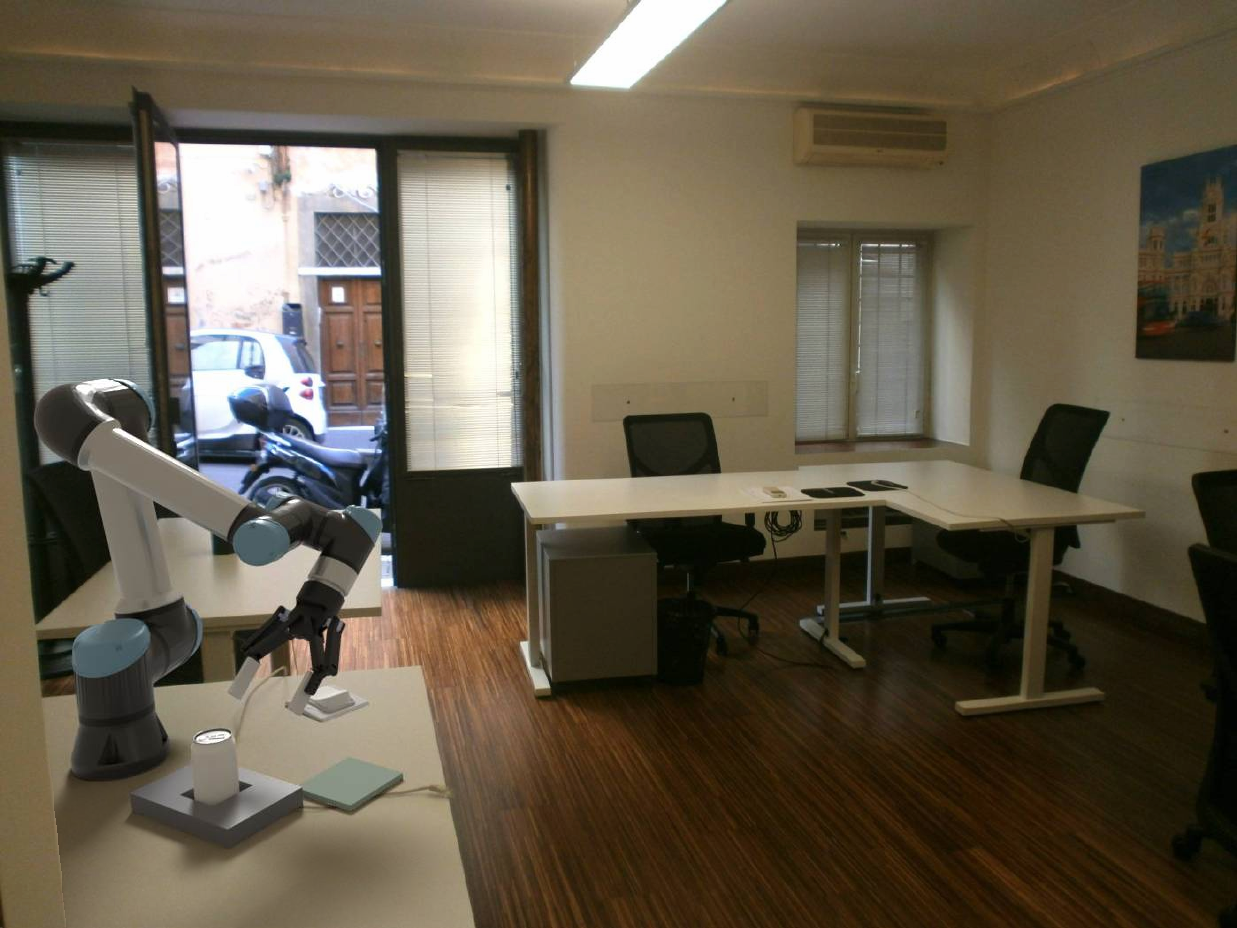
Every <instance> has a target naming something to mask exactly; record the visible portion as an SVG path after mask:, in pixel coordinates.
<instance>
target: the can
mask: <svg viewBox="0 0 1237 928" xmlns="http://www.w3.org/2000/svg"><path fill="white" fill-rule="evenodd" d="M192 741H193V742H192V744H191V747H190V760H191V761H190V764H192V776H193V788H194V800H195V801H198V802H201V803H203V804H206V805H209V806H212V807H213V806H215V805H217V804H219V803H221V802H223V801H224V800H226V799H228V798H230V797H232V796H234V795H236V794H238V793H239V779H238V766H239V765H238V755H237V754H238V753H237V743H236V740H235V738H234V735H233V732H232V730H231V729H229V728H225V727H213V728H208V729H204V730H201V731H199V732H197V733H196V734H195V735H194V736H193V737H192Z"/></svg>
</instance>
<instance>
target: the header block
mask: <svg viewBox="0 0 1237 928" xmlns="http://www.w3.org/2000/svg"><path fill="white" fill-rule="evenodd" d="M238 779H239V793H238V794H236V795H234V796H232V797H230V798H228V799H226V800H224V801H223V802H221V803H219V804H217V805H215V806H213V807H212V806H209V805H206V804H203V803H201V802H198V801H195V800H194V788H193V776H192V764H191V763H190V764H187V765H186V766H185V765H184V766H183V767H181V768H180V769H177V770H175V771H173V772H171V773H169V774H167V775H165V776H163V777H161V778H158V779H157V780H154V781H152V782H150V783H148V784H146V785H144V786H142V787H140V788H138V789H137V788H136V790H133V791H131V792H129V796H130V797H129V798H130V807H131V812H133V811H135V812H137V813H136V814H138V813H139V815H141V814H142V815H141V816H144V817H147V818H148V819H151V820H154V821H156V822H159V823H162V824H164V825H168V826H170V827H172V828H173V829H177V830H179V831H183V832H184V833H187V834H190V835H193V836H195V837H198V838H200V839H203V840H206V841H208V842H210V843H213V844H216V845H219V846H221V847H223V848H227V849H231V848H233V847H235V846H236V845H238V844H240V843H241V842H243V841H245V840H246V839H249V838H250V837H251V836H253V835H255V834H256V833H259V832H260V831H262V830H264V829H265V828H267V827H268V826H270V825H272V824H274V823H276V822H277V821H278V820H280V819H282V818H283V817H286V816H287V815H289V814H291V813H292V812H294V811H295V810H297V809H298V808H300V806H301V807H302V806H304V796H303V790H302V787H301V786H298V785H299V784H298V785H297V784H294V783H291V782H289V781H286V780H285V781H284V780H282V779H279V778H275V777H273V776H270V775H266V774H263V773H260V772H258V771H254V770H251V769H249V768H245V767H242V766H239V765H238ZM135 812H134V813H135Z"/></svg>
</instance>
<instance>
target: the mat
mask: <svg viewBox="0 0 1237 928" xmlns="http://www.w3.org/2000/svg"><path fill="white" fill-rule="evenodd" d="M400 779H401V780H403V779H404V773H403V772H401V771H398V770H395V769H392V768H388V767H385V766H381V765H378V764H374V763H370V762H368V761H364V760H361V759H358V758H355V757H354V758H353V757H351V756H348V757H346V758H344V759H343V760H341V761H339V762H337V763H335V764H333V765H331V766H330V767H328V768H326V769H324V770H323V771H321V772H319V773H317V774H315V775H314V776H312V777H310V778H308V779H307V780H305V781H303V782H301V783H300V784H298V786H301V787H302V790H303V795H304V796H303V797H305V796H306V798H308V797H309V799H311V798H312V799H311V800H314V801H318V802H320V803H323V802H325V803H324V804H326V803H329V804H332V805H335V806H338V807H339V809H342V810H345V811H347V810H348V812H351V813H352V810H353V811H354V810H356V809H357V808H359V807H361V806H362V805H364V804H365V803H367V802H368V801H370V800H371V799H372V798H371V797H372V796H373V795H375V794H377V793H379V792H381V793H383V792H384V791H386V790H387V789H389V788H390V787H392V786H393V784H394V783H395V784H396V782H397V781H398V782H400V781H401V780H400ZM399 780H400V781H399ZM398 782H397V783H398ZM395 784H394V785H395ZM388 787H389V788H388ZM386 788H387V789H386ZM385 789H386V790H385ZM383 790H384V791H383ZM382 791H383V792H382ZM379 794H380V793H379ZM370 798H371V799H370ZM369 799H370V800H369ZM367 800H368V801H367ZM366 801H367V802H366ZM364 802H365V803H364ZM363 803H364V804H363ZM329 804H328V805H329ZM332 805H331V806H332ZM335 806H334V807H335ZM338 807H337V808H338Z"/></svg>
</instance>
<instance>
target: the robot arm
mask: <svg viewBox="0 0 1237 928" xmlns="http://www.w3.org/2000/svg"><path fill="white" fill-rule="evenodd" d="M33 413H34V414H33V423H34V429H35V431H36V434H37V436H38V438H39V439H40V440H41V442H42V444H43V445H44V446H45V447H46V448H47V449H49V451H51V452H52V453H54V454H55V455H56V456H58V457H59V458H61V459H63V460H64V461H66V462H68V464H71V465H73V466H75V467H77V468H79V469H80V470H83V471H84V472H85V471H90V473H91V478H92V481H93V485H94V490H95V494H96V498H97V502H98V508H99V513H100V516H101V519H102V524H103V529H104V533H105V536H106V542H107V545H108V550H109V555H110V558H111V563H112V567H113V571H114V576H115V580H116V585H117V589H118V593H119V596H120V597H119V598H120V599H119V601H118V602H117V603H116V605H115V607H114V608H113V613H114V617H115V619H111V620H107V621H105V622H104V623H96V624H94V625H92V626H89V627H88V628H86V629H85V630H83V631H82V632H80V633H79V634H78V635H77V636H76V638H75V639H74V641H73V644H72V650H71V651H72V652H71V653H72V656H71V657H72V658H71V667H72V669H73V676H74V685H75V686H74V687H75V688H74V689H75V696H76V706H77V707H76V708H77V713H78V728H77V731H76V736H75V740H74V743H73V748H72V752H71V756H70V767H71V768H70V769H71V772H72V774H73V775H74V776H75V777H77V778H79V779H82V780H85V781H98V780H99V781H113V780H118V779H125V778H127V777H128V778H129V777H132V776H135V775H139V774H141V773H144V772H147V771H149V770H152V769H153V768H155V767H157V766H159V765H160V764H162V763H164V762H165V760H167V759H168V757H169V756H170V753H171V743H170V737H169V734H167V731H166V729H165V726H164V725H163V723H162V721H161V718H160V717H159V715H158V712H157V710H156V702H155V689H154V687H155V686H154V685H155V683H156V682H158V681H159V680H160V679H162V678H163V677H164V676H166V675H168V674H169V673H171V672H172V671H173V670H175V669H177V668H179V667H181V666H182V665H183V664H184V663H185V662H187V661H188V660H189V659H190V657H191V656H193V655H194V653H196V651H197V649H198V648H199V646H200V644H201V642H202V638H203V623H202V619H201V617H200V615H199V614H198V612H197V610H196V609H195V608H192V607H191V605H190V604H189V603H187V602H185V597H184V594H183V592H182V591H181V590H179V589H176V588H175V587H173V585H172V582H171V578H170V577H171V576H170V573H169V567H168V563H167V559H166V554H165V550H164V545H163V541H162V536H161V532H160V527H159V522H158V517H157V514H156V510H155V509H156V508H155V505H154V502H155V503H156V504H158V505H161V506H162V507H163V508H165V509H168V510H169V511H171V512H173V513H175V514H177V515H178V516H180V517H183V518H185V519H186V520H187V521H189V522H190V523H194V524H195V525H197V526H198V527H200V528H202V529H204V530H206V531H207V532H209V533H212V534H214V535H215V536H216V537H219V538H220V539H223V540H224V541H226V542H228V543H230V544H231V545H232V547H233V551H234V553H235V554H236V556H237V557H238V558H239V560H241V562H242V563H244V564H247V566H252V567H264V566H267V565H269V564H272V563H275V562H277V561H279V560H280V559H282V558H283V557H284V556H285V555H286V554H288V553H290V552H291V551H293V550H295V549H296V548H298V547H300V546H304V547H306V548H310V549H312V550H315V551H317V552H320V554H319V556H318V557H317V560H315V562H314V565H312V568H311V569H310V571H309V573H308V574H307V577H306V578H307V579H308V580H306V581H304V582H303V584H302V585H301V588H300V590H299V591H298V593H297V595H296V597H295V603H296V605H295V606H294V608H293V609H291V610H290V609H288V608H287V607H285V606H284V605H279V606H277V609H276V610H275V611H274V612H273V614H272V615H271V616H270V617H269V619H267V620H266V622H264V623H263V624H262V625H261V626H260V627H259V628H258V629H257V630H255V632H253V634H252V635H250V636H249V637H248V638H247V639H246V640H245V641H244V642H243V643H242V644H241V645H240V647H239V651H240V652H241V653H242V654H244V658H243V660H242V662H241V663H240V666H239V667H238V669H237V670H236V674H235V675H236V676H235V678H234V680H233V681H232V684H231V685H230V687H229V688H228V691H227V694H229V695H230V696H232V697H233V698H234V699H237V700H239V701H241V700H242V699H243V697H244V695H245V693H246V691H247V690H248V688H249V686H250V684H251V682H252V680H254V677H255V676H256V674H257V672H258V670H259V668H260V666H261V665H262V664H261V661H260V660H261V659H263V658H265V657H266V656H267V655H269V654H270V653H272V652H274V651H275V650H276V649H278V648H279V647H280V646H282V645H284V644H285V643H286V642H288V641H293V640H295V639H296V640H299V641H300V640H304V641H306V642H308V646H309V652H310V653H309V654H310V660H311V667H310V668H309V669H310V670H306V672H305V674H304V676H303V678H302V680H301V682H300V684H299V686H298V687H297V689H296V691H295V693H294V695H293V697H292V698H291V699H292V700H291V702H290V704H289V706H287V708H286V709H288V710H289V711H290V712H292V713H293V714H294V715H296V716H300V717H301V716H302V715H303V714H302V713H303V711H304V709H305V707H306V705H307V703H308V701H309V699H310V697H311V695H312V696H313V695H314V694H315V693H316V691H317V689H318V688H320V685H321V683H322V682H323V680H324V679H326V678H327V677H330V676H331V677H336V676H337V675H338V673H339V663H340V655H341V642H342V636H343V633H344V630H345V627H346V622H344V620H342V619H341V618H339V617H338V615H339V614H340V611H341V610H342V607H343V606H344V604H345V602H346V601H345V598H346V597H348V596H349V594H350V592H351V590H352V588H353V586H354V584H355V583H356V581H357V579H358V577H359V576H360V572H362V569H363V567H364V566H365V564H366V562H367V560H368V559H369V556H370V555H371V553H372V551H373V549H374V548H375V547H376V543H377V541H378V539H379V537H380V534H381V532H382V530H383V527H384V526H383V525H384V524H383V521H382V519H381V518H380V517H379V516H378V514H376V513H375V512H373V511H372V510H370V509H368V508H366V507H364V506H358V505H355V504H352V505H348V506H347V507H345V509H344V510H342V512H338V511H334V510H331V509H330V508H327V507H324V506H322V505H320V504H318V503H315V502H312V501H310V500H307V499H305V498H304V497H302V496H300V495H297V494H292V493H289V492H285V491H277V492H275V493H274V494H273V495H272V497H271V498H269V499H268V501H267V502H266V505H265V507H263V506H260V505H259V504H257V503H255V502H254V501H252V500H250V499H248V498H246V497H245V496H242V495H241V494H238V492H236V491H234V490H232V489H230V488H228V487H226V486H224V485H223V484H222V483H219V482H217V481H215V480H214V479H212V478H210V477H208V476H206V475H205V474H203V473H201V472H199V471H197V470H196V469H194V468H192V467H190V466H188V465H186V464H185V463H183V462H181V461H180V460H177V459H175V458H174V457H172V456H170V455H168V454H167V453H165V452H164V451H161V450H159V449H157V448H156V447H154V446H152V445H151V443H150V439H149V435H148V434H149V433H150V432H151V430H152V428H153V426H154V424H155V420H156V411H155V406H154V402H153V401H152V398H151V397H150V396H149V394H148V392H146V391H145V390H144V389H143V388H142V387H141V386H139V385H138V384H136V383H134V382H132V381H130V380H127V379H122V378H109V377H108V378H100V379H94V380H90V381H89V380H88V381H82V382H75V383H74V382H73V383H66V384H65V383H64V384H61V385H58V386H55V387H53V388H52V389H50V390H48V391H47V392H46V393H45V394H44V395H42V397H41V398H40V399H39V400H38V402H37V404H36V406H35V409H34V412H33ZM325 631H326V635H325V634H324V632H325ZM324 644H325V645H324ZM112 779H113V780H112Z"/></svg>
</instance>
